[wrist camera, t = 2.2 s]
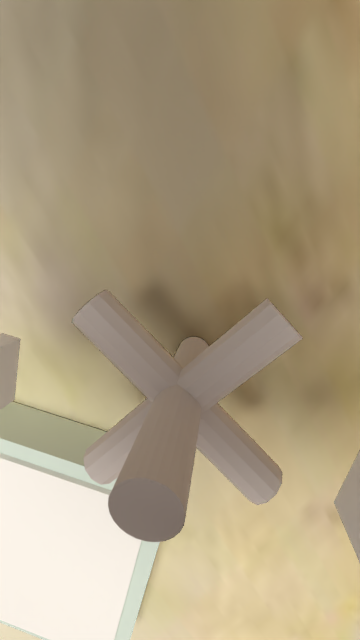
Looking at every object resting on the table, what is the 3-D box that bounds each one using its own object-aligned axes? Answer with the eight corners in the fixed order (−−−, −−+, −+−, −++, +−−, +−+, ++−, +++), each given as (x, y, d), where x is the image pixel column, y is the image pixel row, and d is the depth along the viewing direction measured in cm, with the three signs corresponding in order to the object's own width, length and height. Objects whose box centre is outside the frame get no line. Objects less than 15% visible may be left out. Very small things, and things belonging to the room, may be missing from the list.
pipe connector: (327, 361, 15) (505, 568, 5) (191, 457, 18) (150, 702, 8) (198, 219, 14) (138, 168, 5) (77, 343, 17) (-114, 469, 8)
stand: (-45, 383, 19) (-98, 410, 16) (181, 456, 18) (172, 501, 15) (-46, 548, 24) (-88, 594, 21) (134, 616, 22) (119, 676, 19)
